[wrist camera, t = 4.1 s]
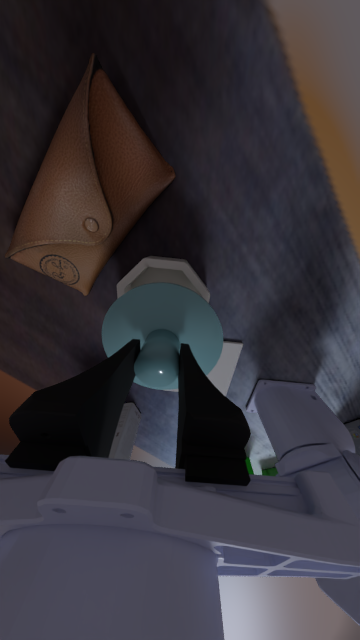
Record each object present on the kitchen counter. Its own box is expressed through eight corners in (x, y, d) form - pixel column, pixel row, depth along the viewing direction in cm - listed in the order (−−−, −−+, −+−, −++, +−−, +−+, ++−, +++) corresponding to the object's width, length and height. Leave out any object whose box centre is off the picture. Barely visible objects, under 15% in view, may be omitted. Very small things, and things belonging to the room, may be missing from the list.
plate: (242, 342, 23) (242, 344, 22) (225, 394, 28) (225, 396, 27) (167, 335, 23) (166, 336, 22) (163, 388, 27) (163, 390, 27)
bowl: (211, 262, 18) (215, 265, 15) (198, 335, 22) (200, 348, 20) (124, 253, 18) (114, 254, 15) (129, 328, 22) (121, 340, 20)
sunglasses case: (88, 301, 21) (20, 298, 14) (64, 265, 22) (-6, 247, 16) (182, 171, 15) (136, 69, 8) (141, 132, 16) (75, 22, 10)
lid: (228, 282, 13) (248, 295, 9) (215, 385, 17) (224, 423, 13) (95, 281, 13) (57, 292, 9) (115, 382, 17) (95, 420, 13)
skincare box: (132, 400, 29) (101, 494, 18) (142, 415, 31) (119, 507, 20) (104, 406, 30) (58, 498, 19) (115, 420, 32) (79, 511, 21)
